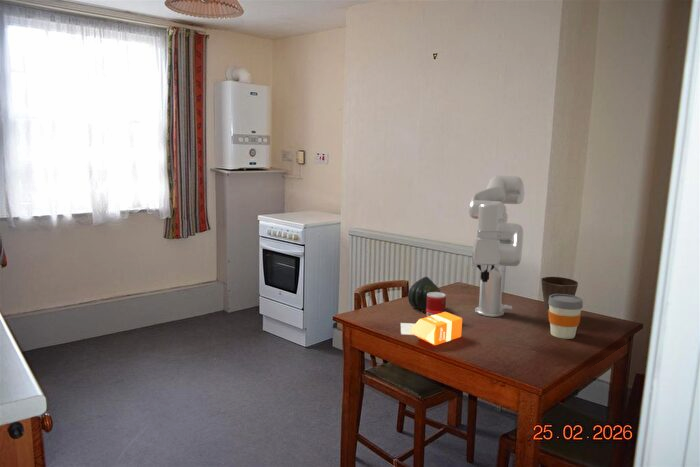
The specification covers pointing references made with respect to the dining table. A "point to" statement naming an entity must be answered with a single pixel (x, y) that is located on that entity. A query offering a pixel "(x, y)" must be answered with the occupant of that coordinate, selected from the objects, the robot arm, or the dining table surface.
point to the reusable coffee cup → (564, 315)
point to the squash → (421, 292)
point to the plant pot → (557, 288)
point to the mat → (406, 328)
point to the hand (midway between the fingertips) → (484, 281)
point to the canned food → (435, 303)
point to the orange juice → (438, 328)
